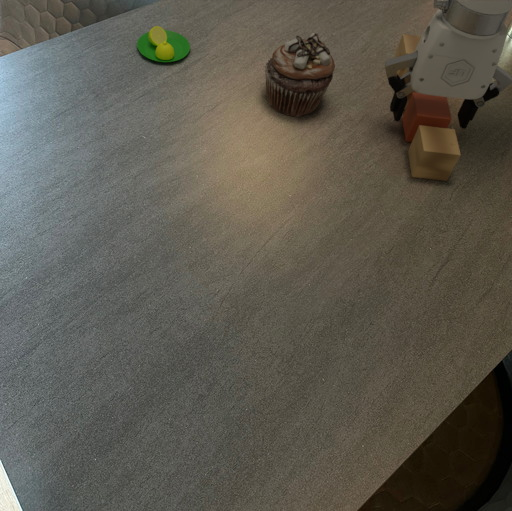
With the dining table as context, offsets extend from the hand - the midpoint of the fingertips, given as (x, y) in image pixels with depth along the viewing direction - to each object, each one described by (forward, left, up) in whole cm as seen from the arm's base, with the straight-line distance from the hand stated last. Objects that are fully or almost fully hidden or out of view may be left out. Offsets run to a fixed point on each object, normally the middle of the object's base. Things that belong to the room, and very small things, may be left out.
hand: (428, 118), depth 90 cm
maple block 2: (0, +7, -3) cm, 8 cm away
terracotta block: (0, 0, -3) cm, 3 cm away
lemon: (+39, -12, -3) cm, 41 cm away
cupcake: (+19, -4, -3) cm, 20 cm away
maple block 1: (0, -14, -3) cm, 14 cm away
